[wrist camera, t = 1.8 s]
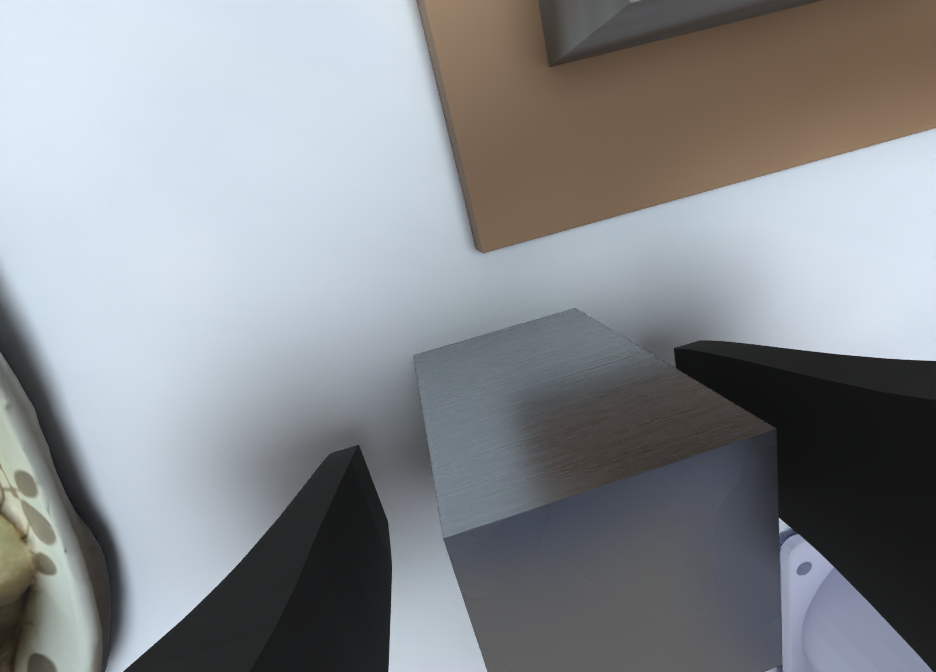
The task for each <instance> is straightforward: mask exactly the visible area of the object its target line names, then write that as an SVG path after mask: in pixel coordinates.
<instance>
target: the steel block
mask: <svg viewBox="0 0 936 672" xmlns="http://www.w3.org/2000/svg"><path fill="white" fill-rule="evenodd" d="M414 361H415V368H416V374H417V380H418V386H419V392H420V398H421V404H422V411H423V417H424V423H425V429H426V435H427V441H428V448H429V454H430V460H431V466H432V472H433V478H434V484H435V491H436V497H437V503H438V509H439V515H440V521H441V527H442V534H443V539H444V542H445V545H446V548H447V551H448V554H449V557H450V560H451V563H452V566H453V569H454V572H455V575H456V578H457V581H458V584H459V587H460V590H461V593H462V596H463V599H464V602H465V605H466V608H467V611H468V614H469V617H470V620H471V623H472V626H473V629H474V632H475V635H476V638H477V641H478V644H479V647H480V650H481V653H482V656H483V659H484V662H485V665H486V668H487V671H488V672H765V671H767V670H770V669H773V668H775V667H778V666H781V665H782V645H781V601H780V557H779V513H778V469H777V429H776V428H774V427H773V426H771V425H769V424H768V423H766V422H764V421H763V420H761V419H759V418H758V417H756V416H754V415H753V414H751V413H749V412H748V411H746V410H744V409H743V408H741V407H739V406H738V405H736V404H734V403H733V402H731V401H729V400H728V399H726V398H724V397H723V396H721V395H719V394H718V393H716V392H714V391H713V390H711V389H709V388H708V387H706V386H704V385H703V384H701V383H699V382H698V381H696V380H694V379H693V378H691V377H689V376H687V375H686V374H684V373H682V372H681V371H679V370H677V369H676V368H674V367H672V366H671V365H669V364H667V363H666V362H664V361H662V360H661V359H659V358H657V357H656V356H654V355H652V354H651V353H649V352H647V351H646V350H644V349H642V348H641V347H639V346H637V345H636V344H634V343H632V342H631V341H629V340H627V339H626V338H624V337H622V336H621V335H619V334H617V333H616V332H614V331H612V330H611V329H609V328H607V327H606V326H604V325H602V324H601V323H599V322H597V321H596V320H594V319H592V318H591V317H589V316H587V315H586V314H584V313H582V312H581V311H579V310H577V309H576V308H574V309H571V310H567V311H564V312H561V313H557V314H554V315H550V316H547V317H543V318H540V319H537V320H533V321H530V322H526V323H523V324H519V325H516V326H513V327H509V328H506V329H502V330H499V331H496V332H492V333H489V334H485V335H482V336H478V337H475V338H472V339H468V340H465V341H461V342H458V343H454V344H451V345H448V346H444V347H441V348H437V349H434V350H430V351H427V352H424V353H420V354H417V355H414Z"/></svg>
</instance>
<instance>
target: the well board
mask: <svg viewBox="0 0 936 672" xmlns="http://www.w3.org/2000/svg"><path fill="white" fill-rule="evenodd" d="M417 3H418V7H419V11H420V15H421V19H422V24H423V28H424V32H425V36H426V40H427V45H428V49H429V53H430V57H431V61H432V66H433V70H434V74H435V78H436V82H437V87H438V91H439V95H440V99H441V103H442V107H443V112H444V116H445V120H446V124H447V128H448V133H449V137H450V141H451V145H452V149H453V154H454V158H455V162H456V166H457V170H458V175H459V179H460V183H461V187H462V191H463V196H464V200H465V204H466V208H467V212H468V216H469V221H470V225H471V229H472V233H473V237H474V242H475V246H476V249H477V250H479V251H481V252H482V253H485V252H489V251H493V250H496V249H500V248H503V247H507V246H511V245H514V244H518V243H522V242H525V241H529V240H532V239H536V238H540V237H543V236H547V235H550V234H554V233H558V232H561V231H565V230H569V229H572V228H576V227H579V226H583V225H587V224H590V223H594V222H597V221H601V220H605V219H608V218H612V217H615V216H619V215H623V214H626V213H630V212H634V211H637V210H641V209H644V208H648V207H652V206H655V205H659V204H662V203H666V202H670V201H673V200H677V199H681V198H684V197H688V196H691V195H695V194H699V193H702V192H706V191H709V190H713V189H717V188H720V187H724V186H728V185H731V184H735V183H738V182H742V181H746V180H749V179H753V178H756V177H760V176H764V175H767V174H771V173H774V172H778V171H782V170H785V169H789V168H793V167H796V166H800V165H803V164H807V163H811V162H814V161H818V160H821V159H825V158H829V157H832V156H836V155H840V154H843V153H847V152H850V151H854V150H858V149H861V148H865V147H868V146H872V145H876V144H879V143H883V142H887V141H890V140H894V139H897V138H901V137H905V136H908V135H912V134H915V133H919V132H923V131H926V130H930V129H933V128H936V0H417Z"/></svg>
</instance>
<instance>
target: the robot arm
mask: <svg viewBox="0 0 936 672" xmlns="http://www.w3.org/2000/svg"><path fill="white" fill-rule="evenodd" d="M674 354H675V363H676V369H677V370H679V371H681V372H682V373H684V374H686V375H687V376H689V377H691V378H693V379H694V380H696V381H698V382H699V383H701V384H703V385H704V386H706V387H708V388H709V389H711V390H713V391H714V392H716V393H718V394H719V395H721V396H723V397H724V398H726V399H728V400H729V401H731V402H733V403H734V404H736V405H738V406H739V407H741V408H743V409H744V410H746V411H748V412H749V413H751V414H753V415H754V416H756V417H758V418H759V419H761V420H763V421H764V422H766V423H768V424H769V425H771V426H773V427H774V428H776V429H777V469H778V513H779V518H780V519H781V520H782V521H784V522H785V523H786V524H787V525H788V526H790V527H791V528H792V529H793V530H794V531H796V532H797V533H798V534H796V535H793V536H791V537H789V538H788V539H787V540H786V541H785V542H784V543H783V545H782V546H781V550H780V570H781V616H782V663H783V672H936V361H921V360H900V359H885V358H873V357H861V356H850V355H839V354H829V353H820V352H811V351H803V350H794V349H786V348H778V347H770V346H762V345H753V344H745V343H736V342H725V341H696V342H693V343H690V344H686V345H683V346H680V347H677V348H674ZM391 584H392V560H391V548H390V538H389V528H388V521H387V518H386V515H385V513H384V510H383V507H382V505H381V502H380V499H379V497H378V494H377V491H376V489H375V486H374V484H373V481H372V478H371V476H370V473H369V470H368V468H367V465H366V462H365V460H364V457H363V455H362V452H361V449H360V447H359V445H357V446H354V447H350V448H347V449H344V450H341V451H337V452H334V453H331V454H330V455H329V456H328V457H327V458H326V459H325V460H324V461H323V463H322V464H321V465H320V466H319V467H318V469H317V470H316V471H315V473H314V474H313V475H312V476H311V478H310V479H309V480H308V482H307V483H306V484H305V485H304V487H303V488H302V489H301V490H300V492H299V493H298V494H297V496H296V497H295V498H294V499H293V501H292V502H291V503H290V504H289V506H288V507H287V508H286V509H285V511H284V512H283V513H282V514H281V516H280V517H279V518H278V519H277V520H276V522H275V523H274V524H273V525H272V526H271V527H270V528H269V530H268V531H267V532H266V533H265V534H264V535H263V537H262V538H261V539H260V540H259V541H258V542H257V543H256V545H255V546H254V547H253V548H252V549H251V550H250V552H249V553H248V554H247V555H246V556H245V557H244V558H243V560H242V561H241V562H240V563H239V564H238V565H237V566H236V567H235V568H234V569H233V570H232V571H231V572H230V573H229V574H228V575H227V577H226V578H225V579H224V580H223V581H222V582H221V583H220V584H219V585H218V586H217V587H216V588H215V589H214V590H213V591H212V592H211V593H210V594H209V595H208V596H207V597H206V598H204V599H203V600H202V601H201V602H200V603H199V604H198V605H197V606H196V607H195V608H194V609H193V610H192V611H191V612H190V613H189V614H188V615H187V616H186V617H185V618H184V619H183V620H182V621H180V622H179V623H178V624H177V625H176V626H175V627H174V628H173V629H171V630H170V631H169V632H168V633H167V634H166V635H165V636H163V637H162V638H161V639H160V640H159V641H158V642H157V643H155V644H154V645H153V646H152V647H151V648H150V649H149V650H147V651H146V652H145V653H144V654H143V655H142V656H141V657H139V658H138V659H137V660H136V661H135V662H134V663H133V664H131V665H130V666H129V667H128V668H127V669H126V670H125V671H123V672H388V667H389V641H390V614H391Z"/></svg>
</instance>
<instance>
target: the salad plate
mask: <svg viewBox="0 0 936 672" xmlns="http://www.w3.org/2000/svg"><path fill="white" fill-rule="evenodd" d="M111 613H112V611H111V590H110V582H109V576H108V571H107V566H106V560H105V556H104V553H103V551H102V549H101V547H100V545H99V543H98V542H97V540H96V538H95V537H94V535H93V533H92V532H91V530H90V528H89V527H88V526H87V525H86V524H85V522H84V521H83V520H82V519H81V518H80V517H79V515H78V514H77V513H76V511H75V509H74V507H73V506H72V504H71V502H70V500H69V498H68V496H67V495H66V493H65V490H64V488H63V485H62V483H61V481H60V479H59V476H58V474H57V472H56V469H55V467H54V464H53V461H52V457H51V454H50V450H49V446H48V444H47V442H46V439H45V437H44V435H43V433H42V431H41V428H40V425H39V422H38V418H37V415H36V411H35V408H34V407H33V405H32V404H31V402H30V400H29V399H28V397H27V395H26V393H25V391H24V390H23V388H22V386H21V384H20V382H19V381H18V379H17V377H16V375H15V374H14V372H13V371H12V369H11V368H10V366H9V365H8V363H7V361H6V360H5V358H4V357H3V355H2V354H1V352H0V672H105V669H106V664H107V660H108V655H109V650H110V625H111Z"/></svg>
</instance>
